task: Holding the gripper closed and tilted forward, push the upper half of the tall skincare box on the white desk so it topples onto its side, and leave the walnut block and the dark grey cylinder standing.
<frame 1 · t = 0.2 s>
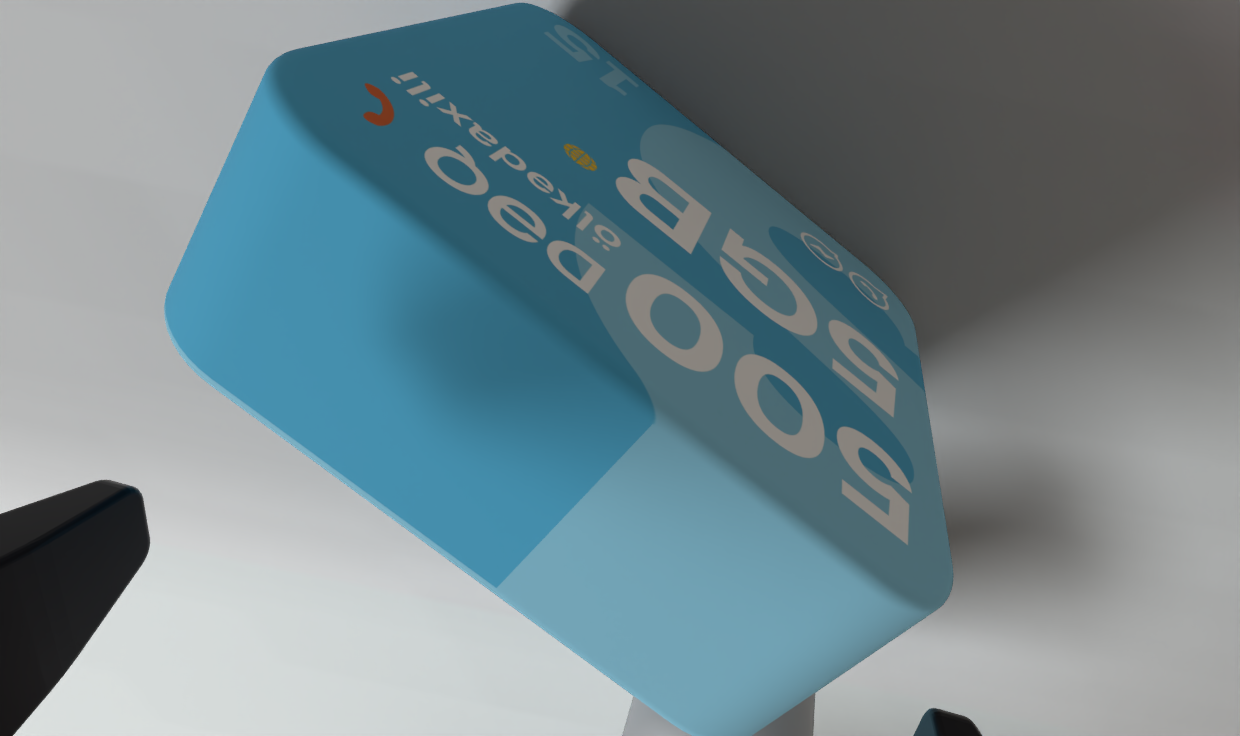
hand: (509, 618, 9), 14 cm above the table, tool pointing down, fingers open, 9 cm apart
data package: (678, 218, 22), on the table
grey cylinder: (748, 556, 26), on the table
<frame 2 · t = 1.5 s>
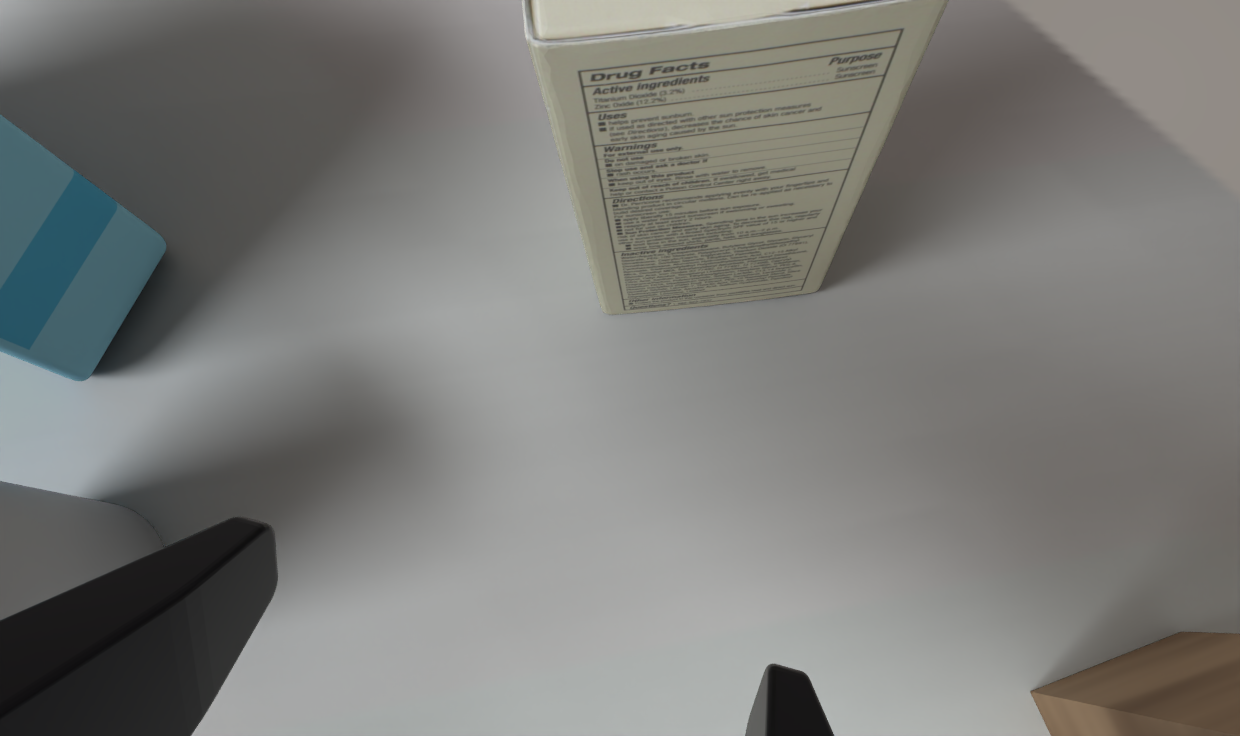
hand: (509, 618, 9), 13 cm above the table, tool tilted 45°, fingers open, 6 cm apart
grey cylinder: (85, 587, 22), on the table
skincare box: (697, 243, 24), on the table
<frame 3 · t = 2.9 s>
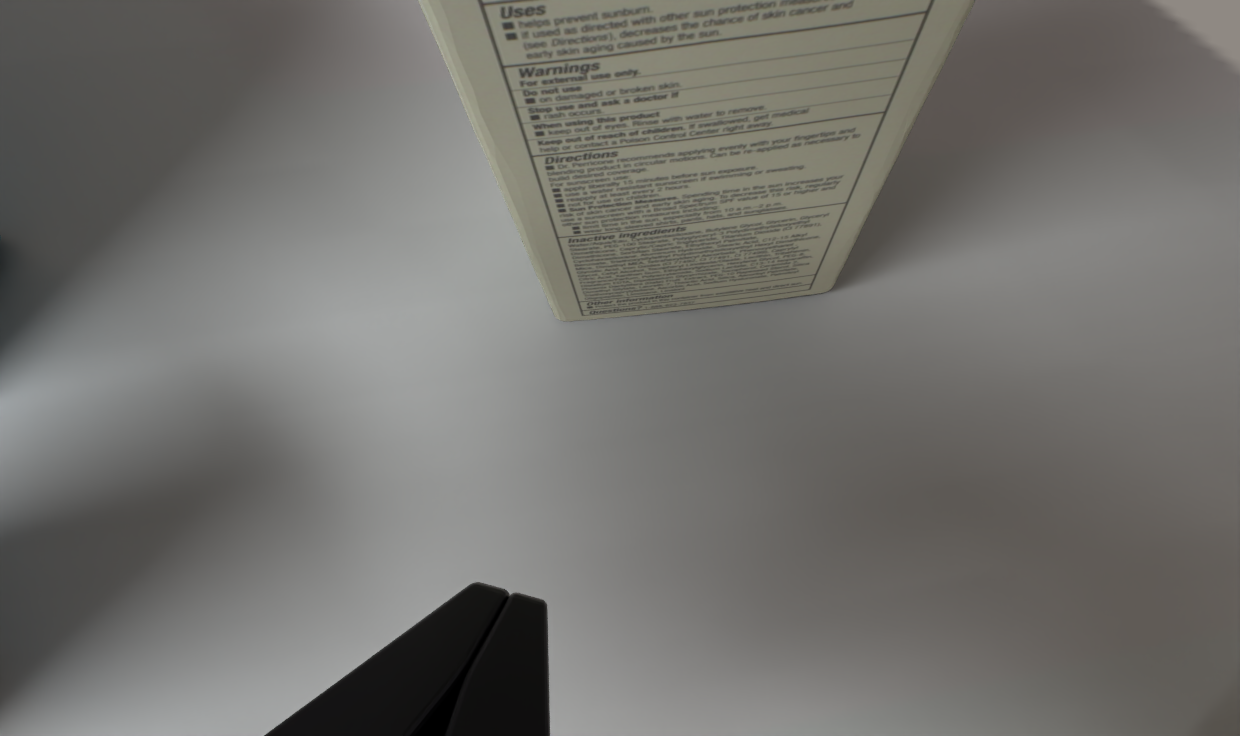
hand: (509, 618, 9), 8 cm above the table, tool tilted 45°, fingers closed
skincare box: (677, 230, 19), on the table
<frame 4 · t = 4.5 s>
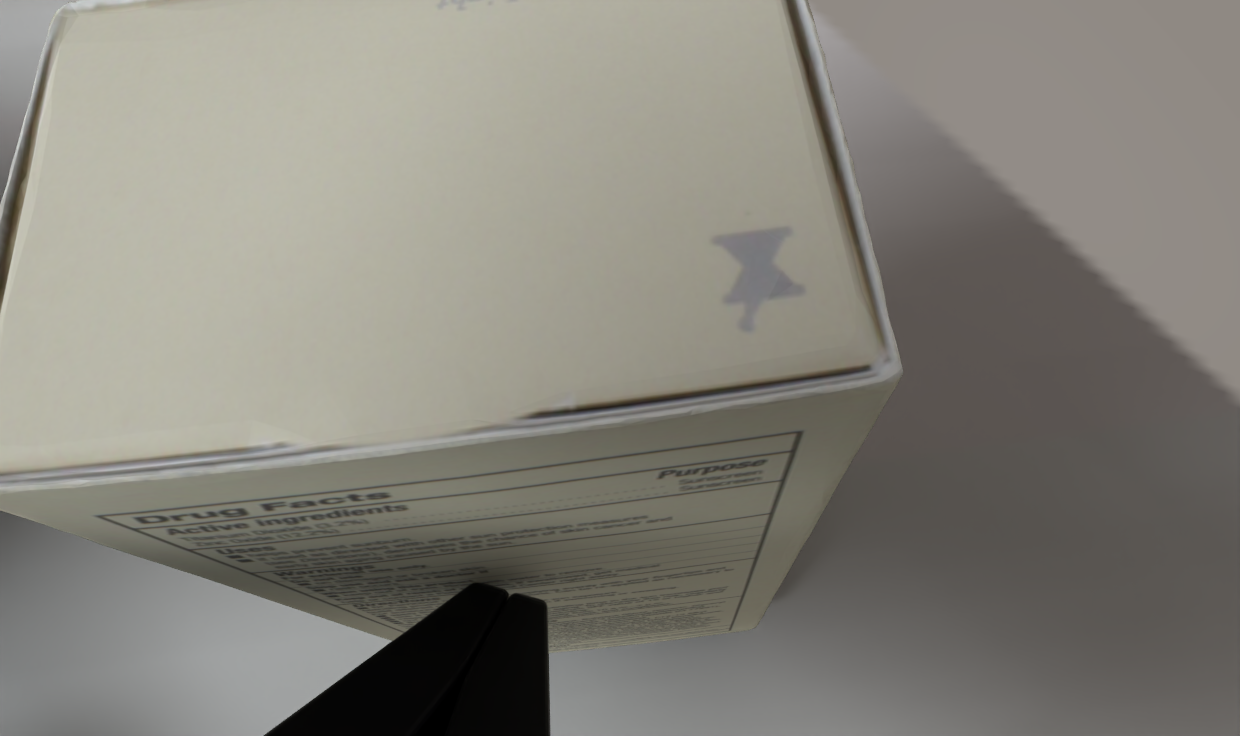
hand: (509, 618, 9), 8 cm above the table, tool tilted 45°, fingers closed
skincare box: (587, 546, 17), on the table, touching gripper
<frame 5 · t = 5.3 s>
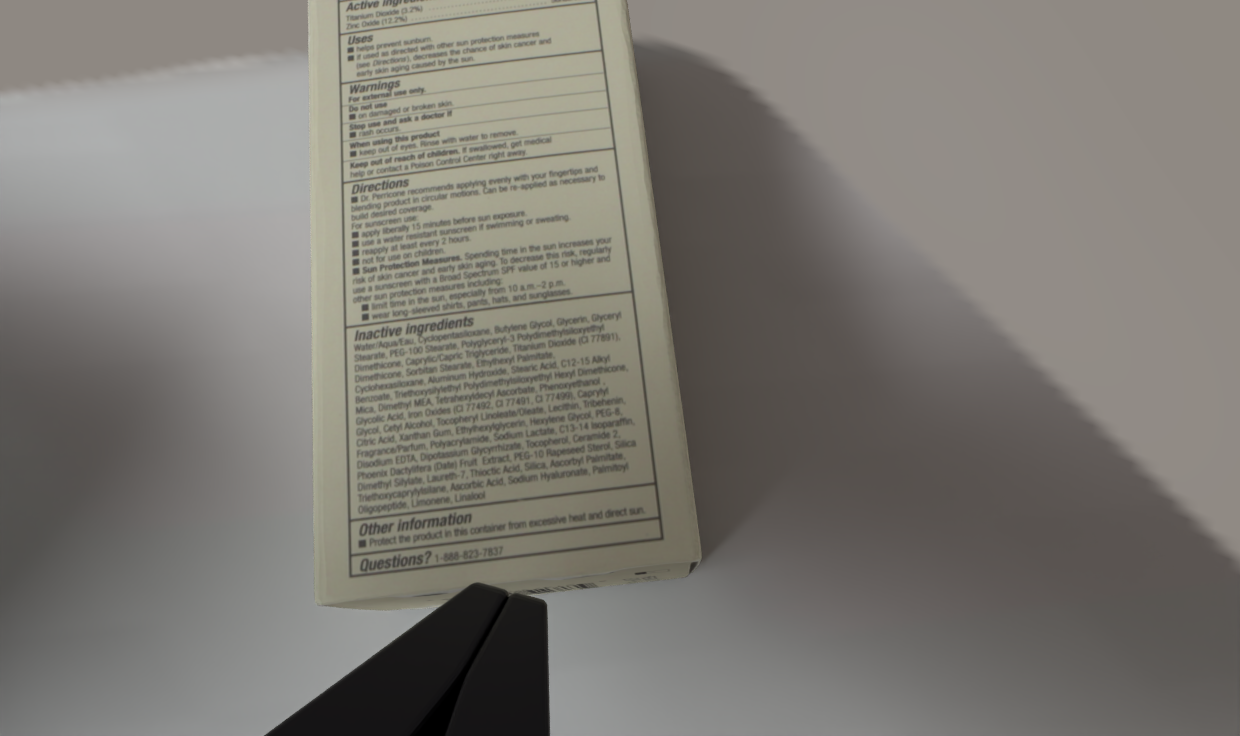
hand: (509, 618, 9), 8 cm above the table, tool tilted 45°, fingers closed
skincare box: (520, 606, 15), point 2 cm above the table
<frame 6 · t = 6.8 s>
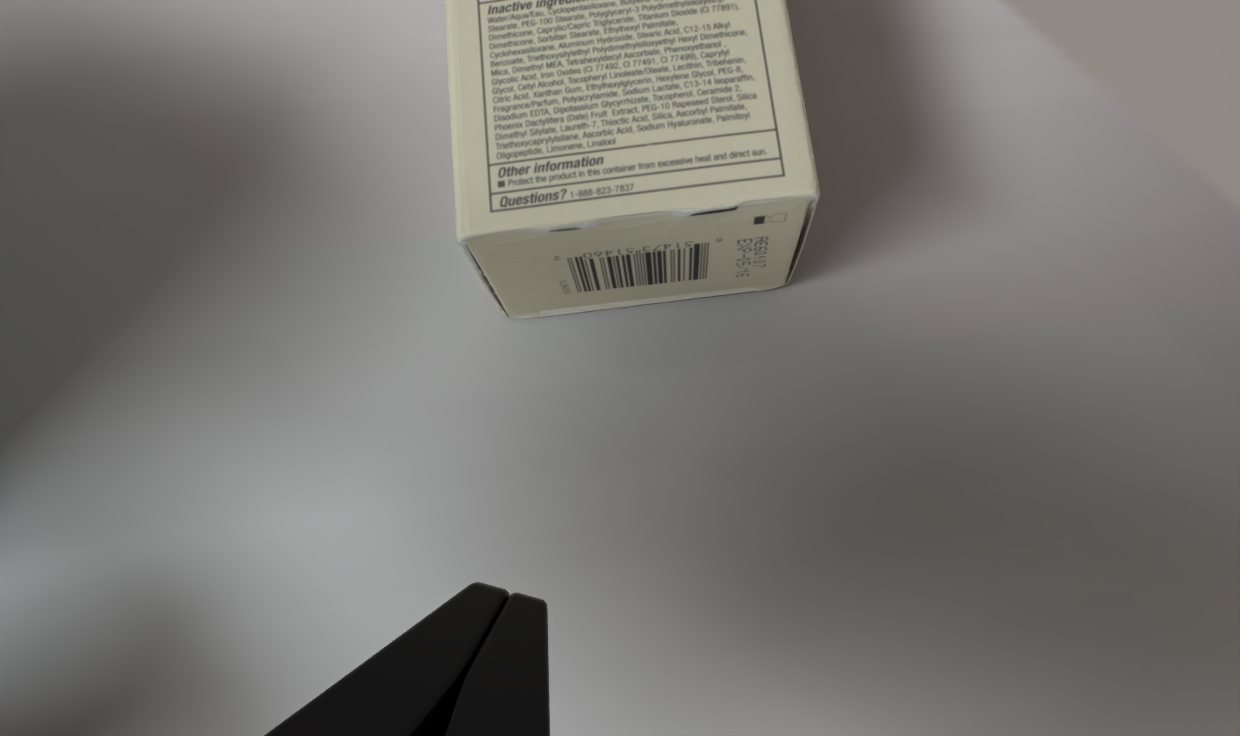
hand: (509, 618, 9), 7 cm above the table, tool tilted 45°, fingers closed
skincare box: (637, 278, 16), point 2 cm above the table
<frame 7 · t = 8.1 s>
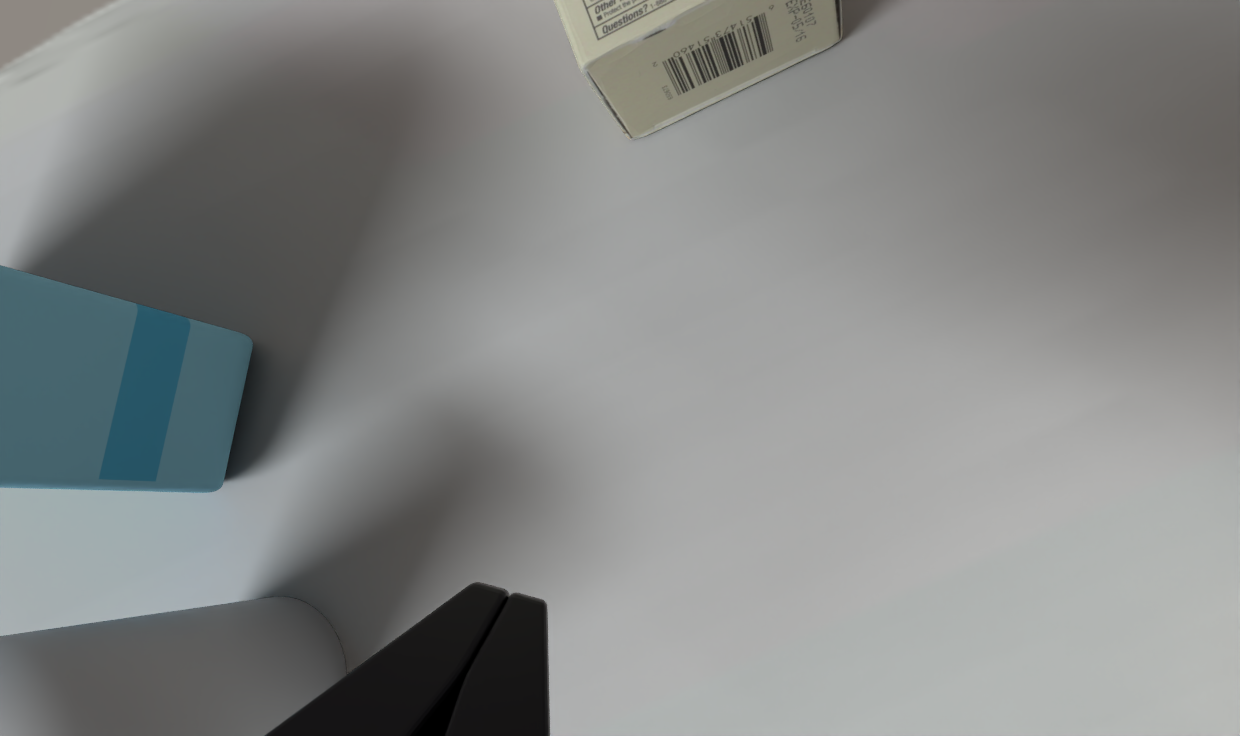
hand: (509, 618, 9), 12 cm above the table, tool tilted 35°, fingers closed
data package: (112, 392, 27), on the table
grey cylinder: (276, 679, 23), on the table
skincare box: (719, 63, 20), point 2 cm above the table
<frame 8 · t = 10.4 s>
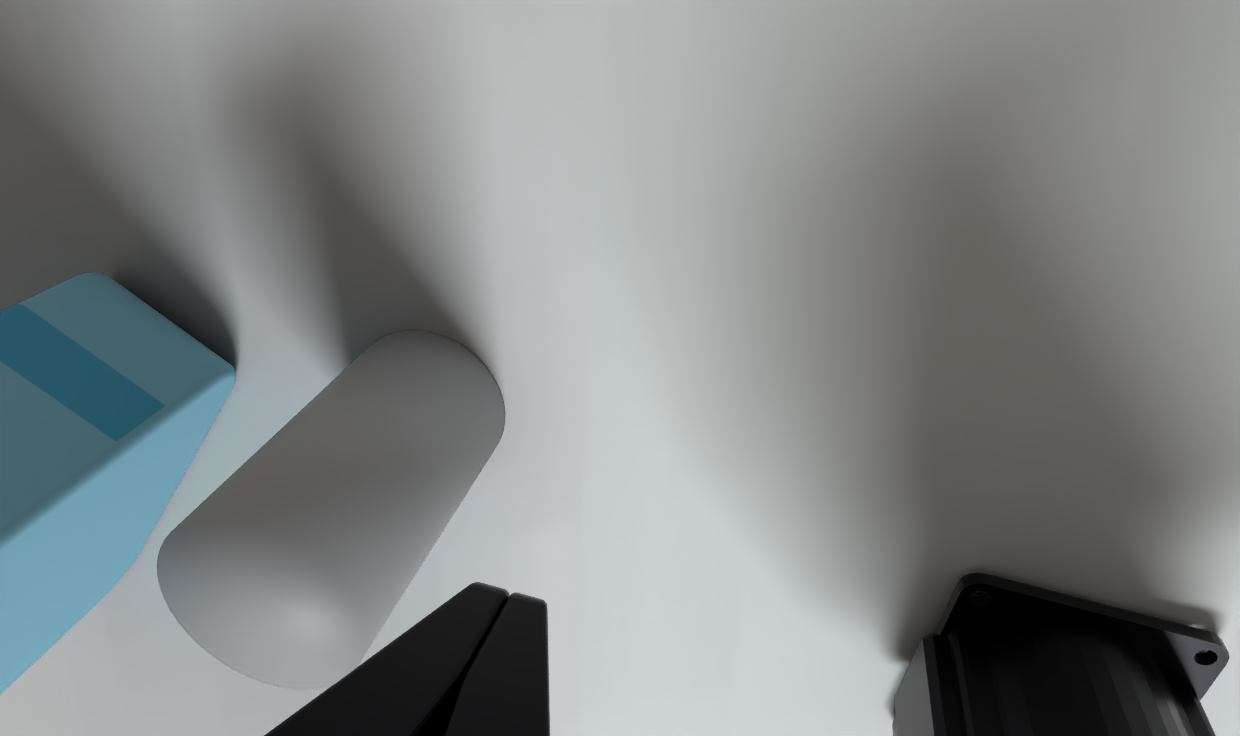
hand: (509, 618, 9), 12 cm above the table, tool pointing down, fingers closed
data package: (129, 429, 27), on the table
grey cylinder: (429, 402, 23), on the table
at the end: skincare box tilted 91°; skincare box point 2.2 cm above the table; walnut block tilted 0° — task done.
